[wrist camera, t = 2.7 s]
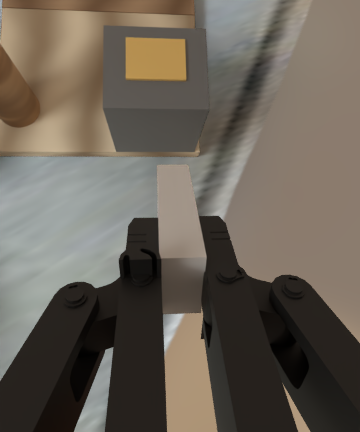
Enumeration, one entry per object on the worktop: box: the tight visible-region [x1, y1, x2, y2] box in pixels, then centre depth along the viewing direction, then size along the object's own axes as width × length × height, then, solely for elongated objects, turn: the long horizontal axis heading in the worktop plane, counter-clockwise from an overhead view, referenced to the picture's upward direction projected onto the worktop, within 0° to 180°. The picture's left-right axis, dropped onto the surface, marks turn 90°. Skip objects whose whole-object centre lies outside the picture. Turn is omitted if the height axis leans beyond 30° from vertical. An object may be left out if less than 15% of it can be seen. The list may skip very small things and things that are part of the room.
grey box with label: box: [103, 25, 209, 152], centre depth 26 cm, size 7×6×8 cm
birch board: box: [0, 0, 200, 157], centre depth 31 cm, size 18×19×1 cm
